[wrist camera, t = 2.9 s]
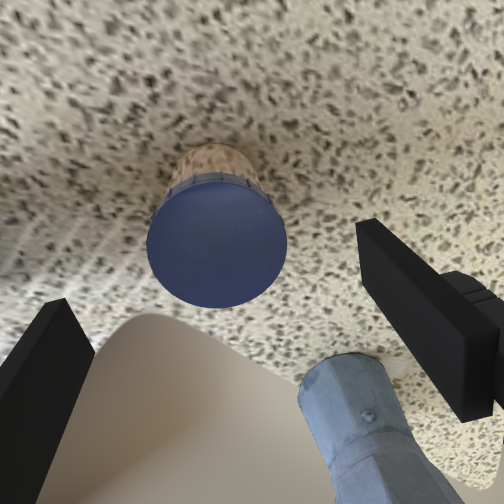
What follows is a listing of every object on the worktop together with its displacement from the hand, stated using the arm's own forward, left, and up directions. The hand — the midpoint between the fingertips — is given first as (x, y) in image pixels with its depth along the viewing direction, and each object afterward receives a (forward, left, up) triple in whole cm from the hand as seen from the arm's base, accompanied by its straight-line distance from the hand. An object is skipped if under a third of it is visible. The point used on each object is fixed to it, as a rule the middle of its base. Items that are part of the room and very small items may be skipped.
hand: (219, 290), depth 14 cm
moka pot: (+16, +17, -13) cm, 27 cm away
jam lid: (0, 0, -4) cm, 4 cm away
